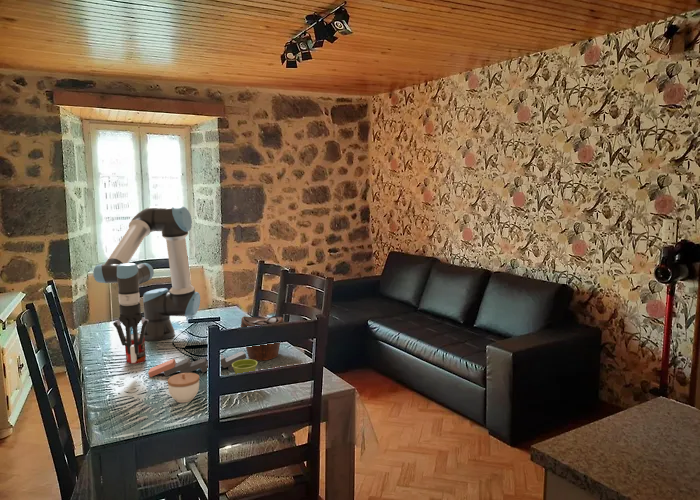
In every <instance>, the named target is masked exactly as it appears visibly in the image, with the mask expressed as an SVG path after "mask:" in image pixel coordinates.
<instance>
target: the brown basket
mask: <svg viewBox="0 0 700 500" xmlns="http://www.w3.org/2000/svg"><path fill="white" fill-rule="evenodd" d="M240 321H241V323H240V328H241V327H247V326H255V325H263V324H271V323H282V322H284V323H285V320H284V318H283V317H282V316H276V315H272V316H270V317H258V316H257V317H256V316H242V318H241V320H240ZM280 347H281V342H280V343H274V344H267V345H260V346H252V347H246V346H245V348H246V352H247V357H248V359H252V360H255V361H269V360H271V359H275V358H276V357H277V358H278V357H279V353H280V352H279V351H280Z"/></svg>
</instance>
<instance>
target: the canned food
mask: <svg viewBox="0 0 700 500" xmlns="http://www.w3.org/2000/svg"><path fill="white" fill-rule="evenodd" d="M124 336H125V339H126V335H124ZM139 339H140V333H138V341H139ZM126 342H127V340H126ZM145 342H146V340H145V339H143V342H142V344H140V345H138V347H139V352H138V354H136V357H137V361H136V362H135V363H131V354H128V349H127V346H125V345H124V346H125V347H124V348H125V358H126V359H125V360H126V363H128V364H130V365H131V364H132V365H133V364H134V365H136V364H140V363H141V364H142V363H143V362H145V361H146V359H147V357H146V343H145ZM131 343H132V344H131V345H134V339H133V333H131Z"/></svg>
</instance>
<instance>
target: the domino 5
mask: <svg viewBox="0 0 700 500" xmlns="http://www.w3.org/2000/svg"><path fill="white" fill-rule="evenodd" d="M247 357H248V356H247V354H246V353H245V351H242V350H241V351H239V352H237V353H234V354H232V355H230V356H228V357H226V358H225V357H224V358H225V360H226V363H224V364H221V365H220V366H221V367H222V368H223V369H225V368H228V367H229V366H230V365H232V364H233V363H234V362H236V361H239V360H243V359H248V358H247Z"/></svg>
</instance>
